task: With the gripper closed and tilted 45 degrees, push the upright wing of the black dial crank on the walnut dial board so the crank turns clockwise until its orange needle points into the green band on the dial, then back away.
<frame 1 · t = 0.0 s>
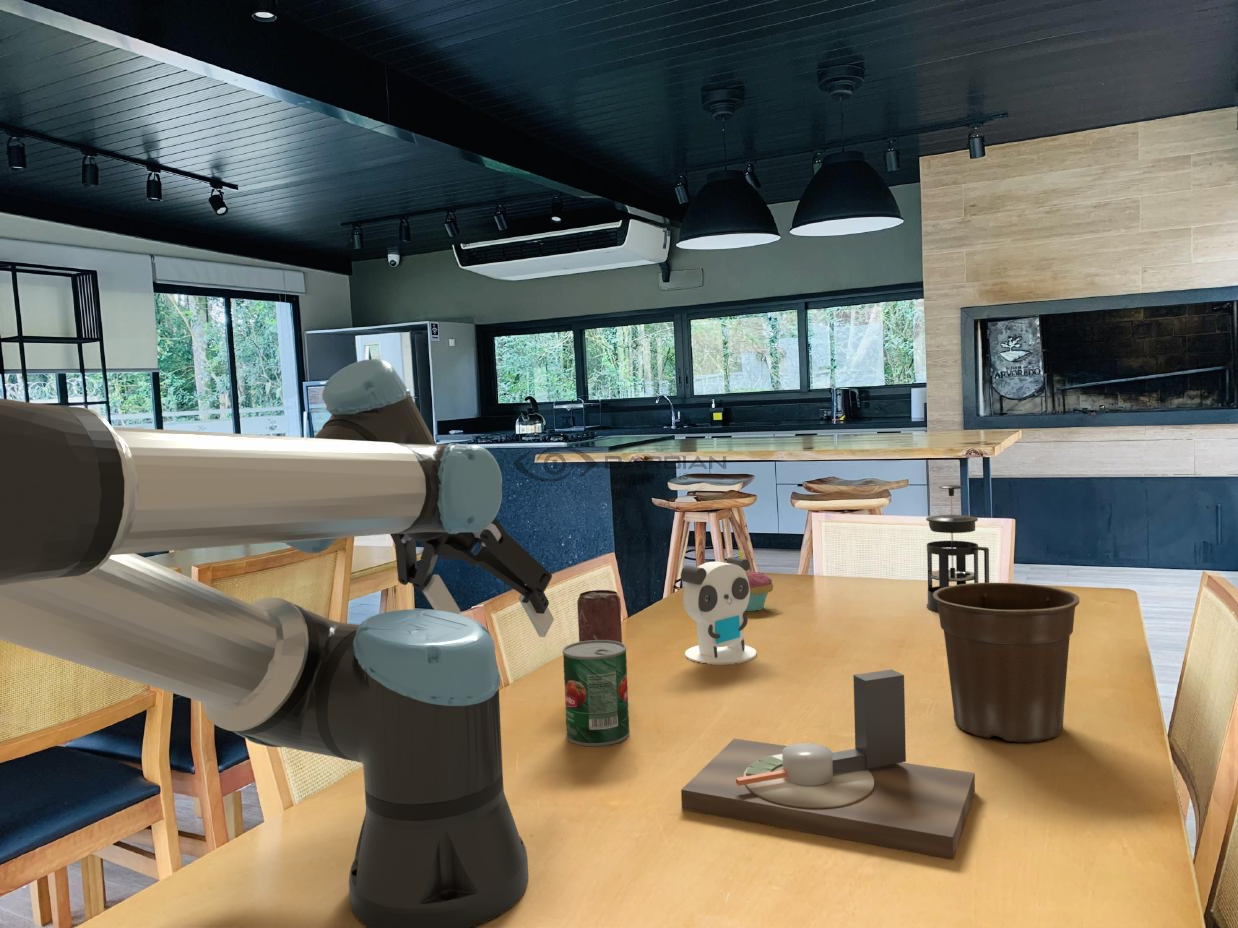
hand: (498, 623, 111), 15 cm above the table, tool tilted 35°, fingers open, 13 cm apart
dial board: (829, 800, 94), on the table
plant pot: (1005, 726, 113), on the table
cupcake: (751, 609, 179), on the table
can: (603, 690, 133), on the table
dial crank: (819, 728, 94), point 7 cm above the table, hinge at 0.0°
panda figurine: (719, 655, 148), on the table
canned tomato: (598, 736, 115), on the table
french press: (956, 609, 172), on the table
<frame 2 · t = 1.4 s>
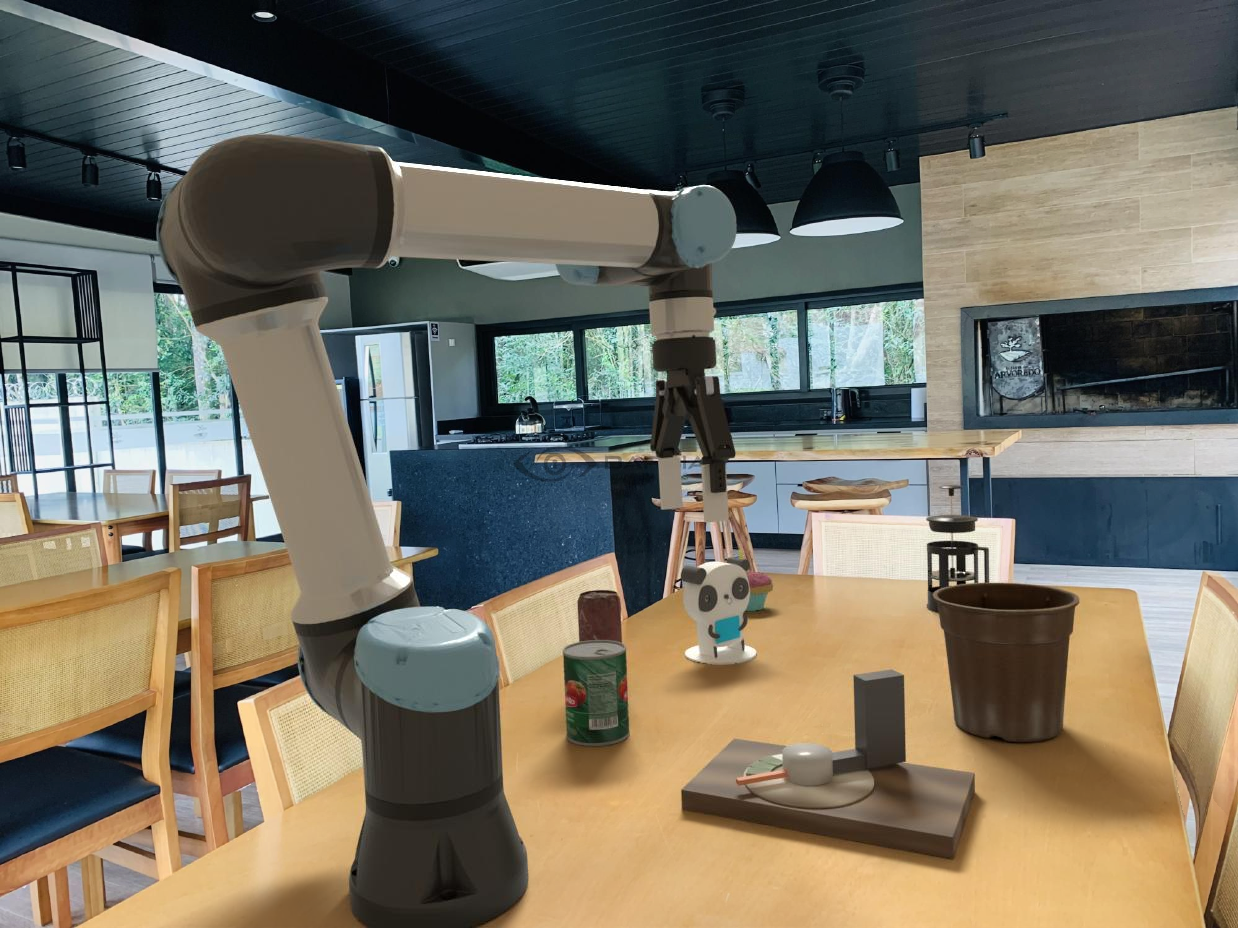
hand: (692, 514, 112), 27 cm above the table, tool pointing down, fingers open, 13 cm apart
nothing on the table moved.
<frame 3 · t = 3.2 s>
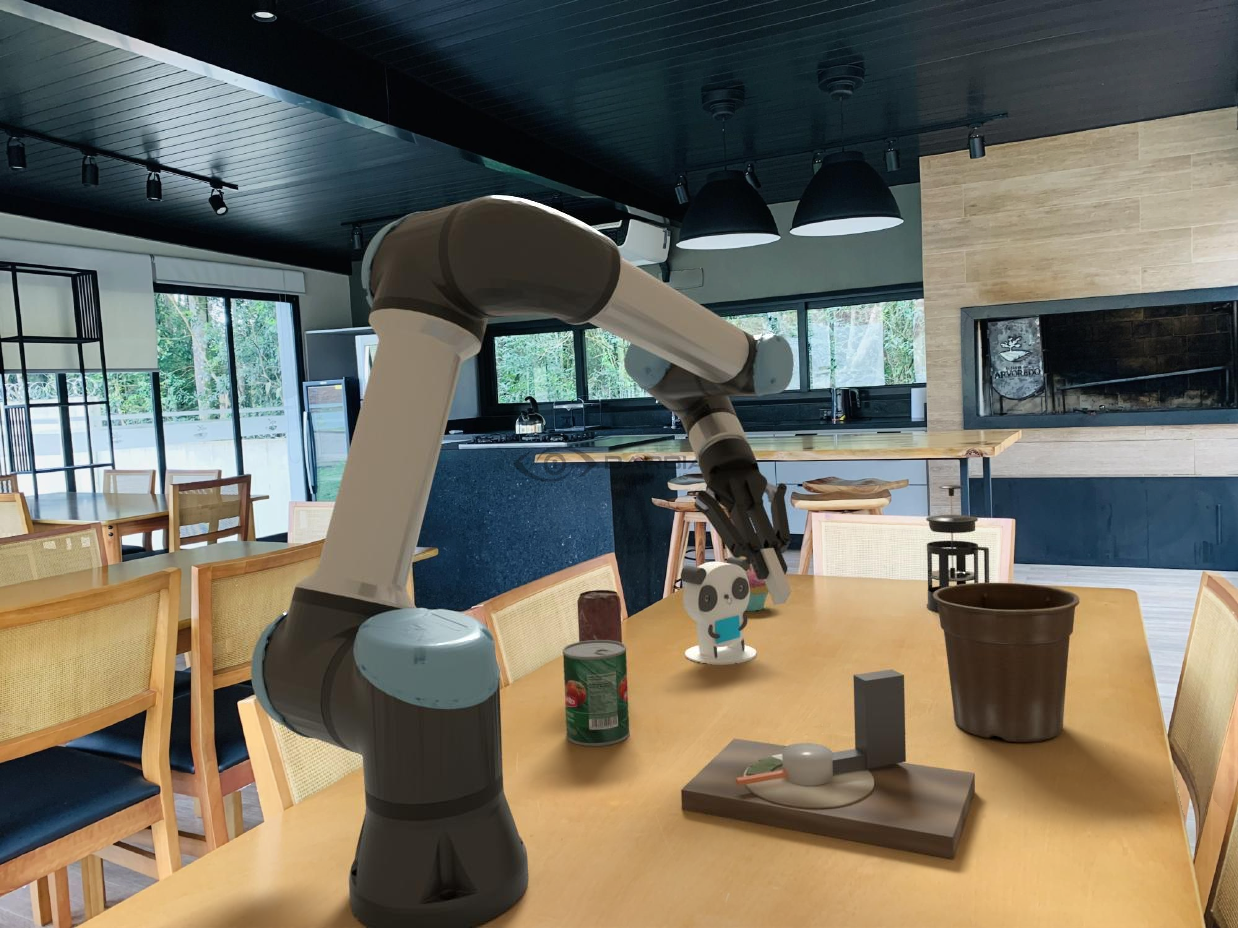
hand: (782, 597, 113), 16 cm above the table, tool tilted 45°, fingers closed
nothing on the table moved.
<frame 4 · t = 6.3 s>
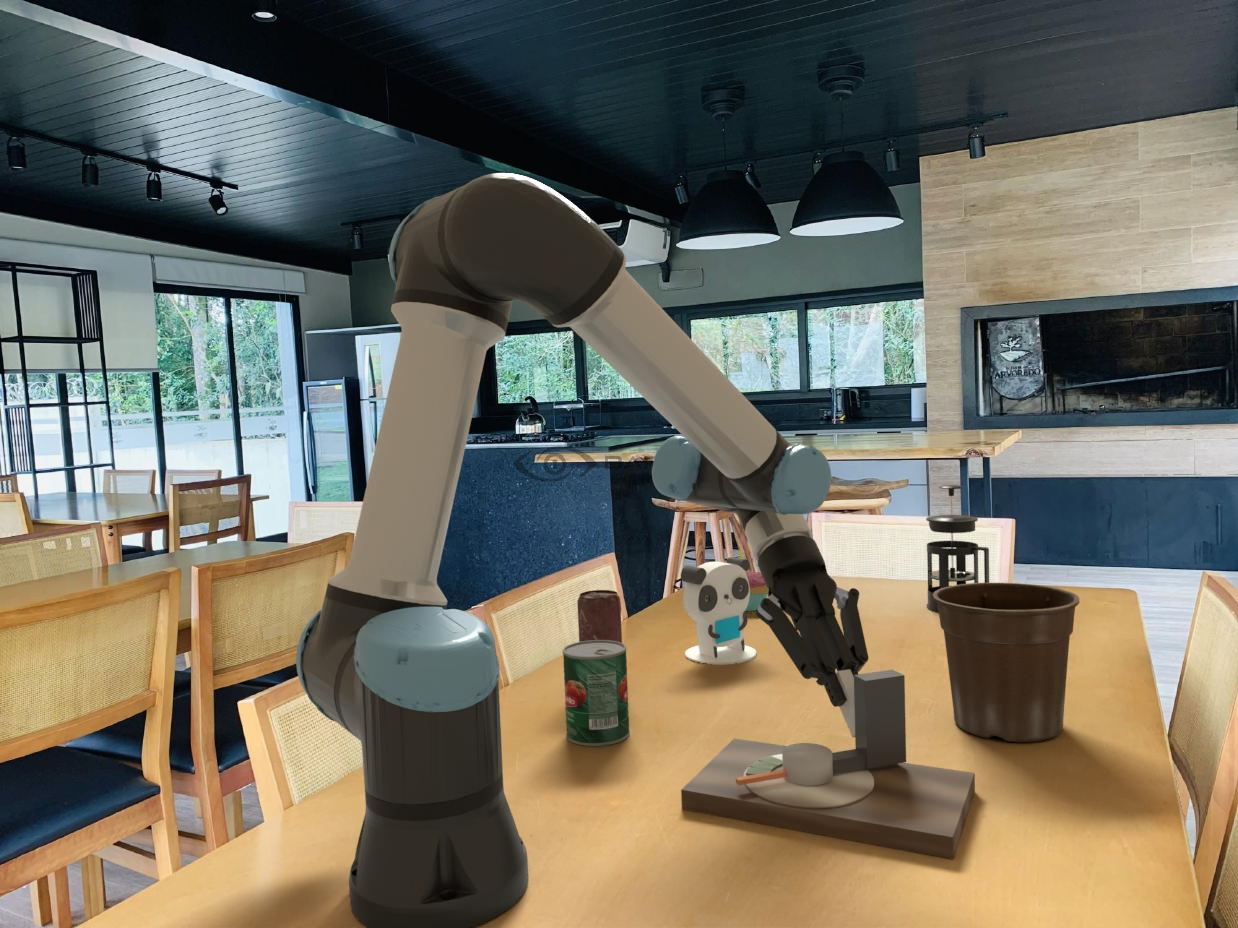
hand: (863, 730, 98), 5 cm above the table, tool tilted 45°, fingers closed
dial crank: (819, 728, 94), point 7 cm above the table, hinge at -0.5°, touching gripper
everything else where it was.
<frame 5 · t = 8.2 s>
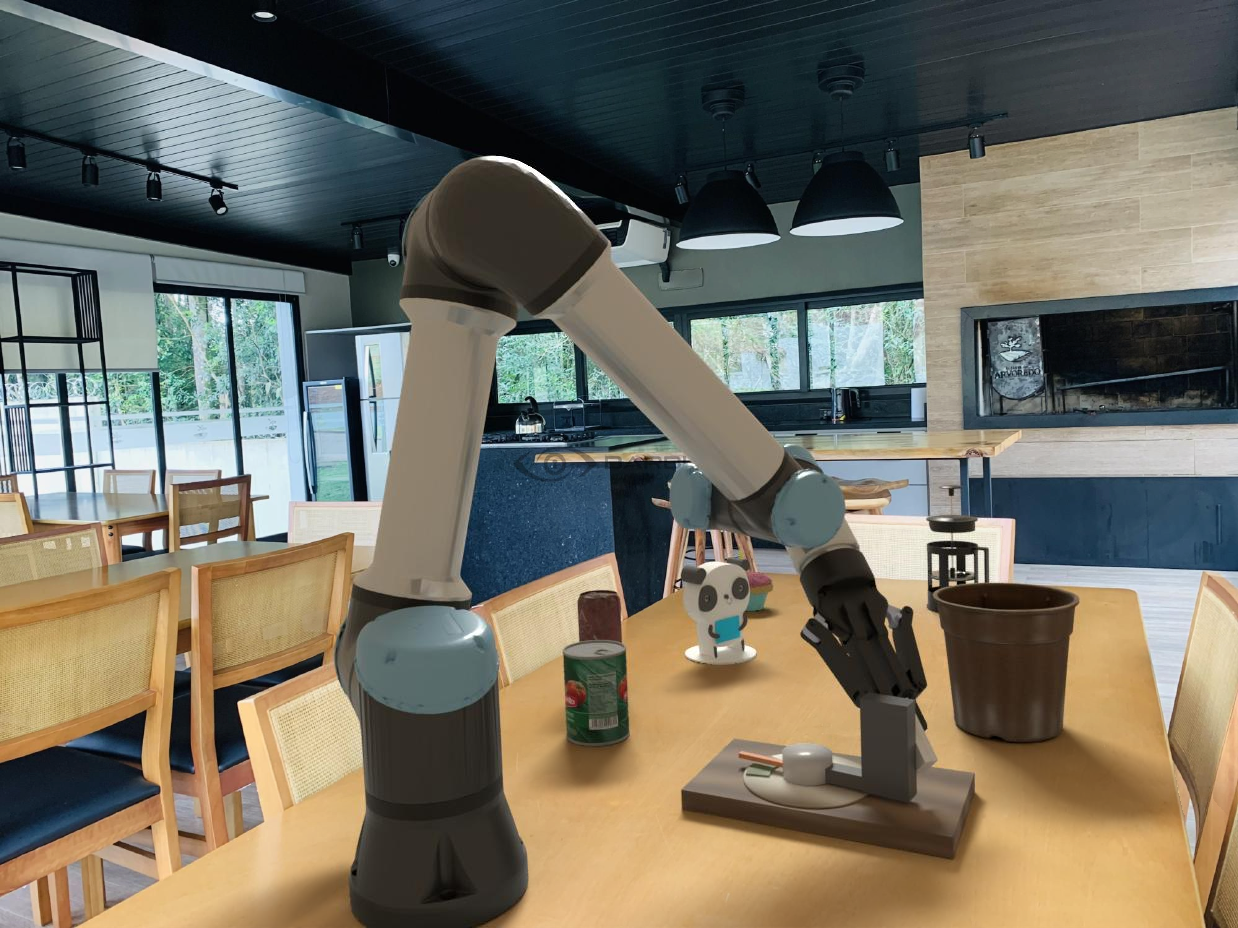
hand: (925, 766, 88), 5 cm above the table, tool tilted 45°, fingers closed
dial crank: (820, 733, 93), point 7 cm above the table, hinge at -53.9°, touching gripper
everything else where it was.
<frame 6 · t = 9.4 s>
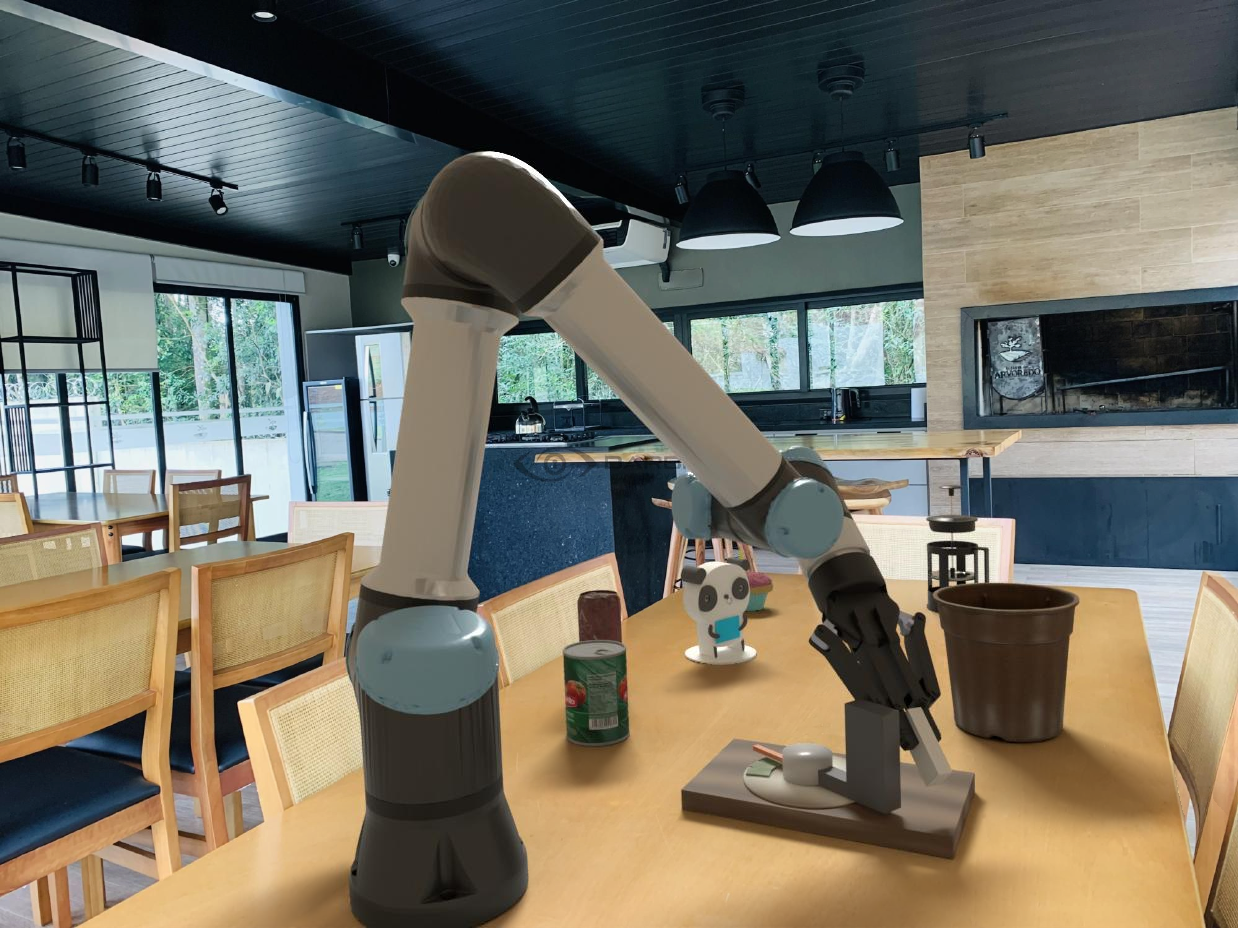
hand: (939, 779, 85), 6 cm above the table, tool tilted 45°, fingers closed
dial crank: (817, 734, 93), point 7 cm above the table, hinge at -73.1°, touching hand
everything else where it was.
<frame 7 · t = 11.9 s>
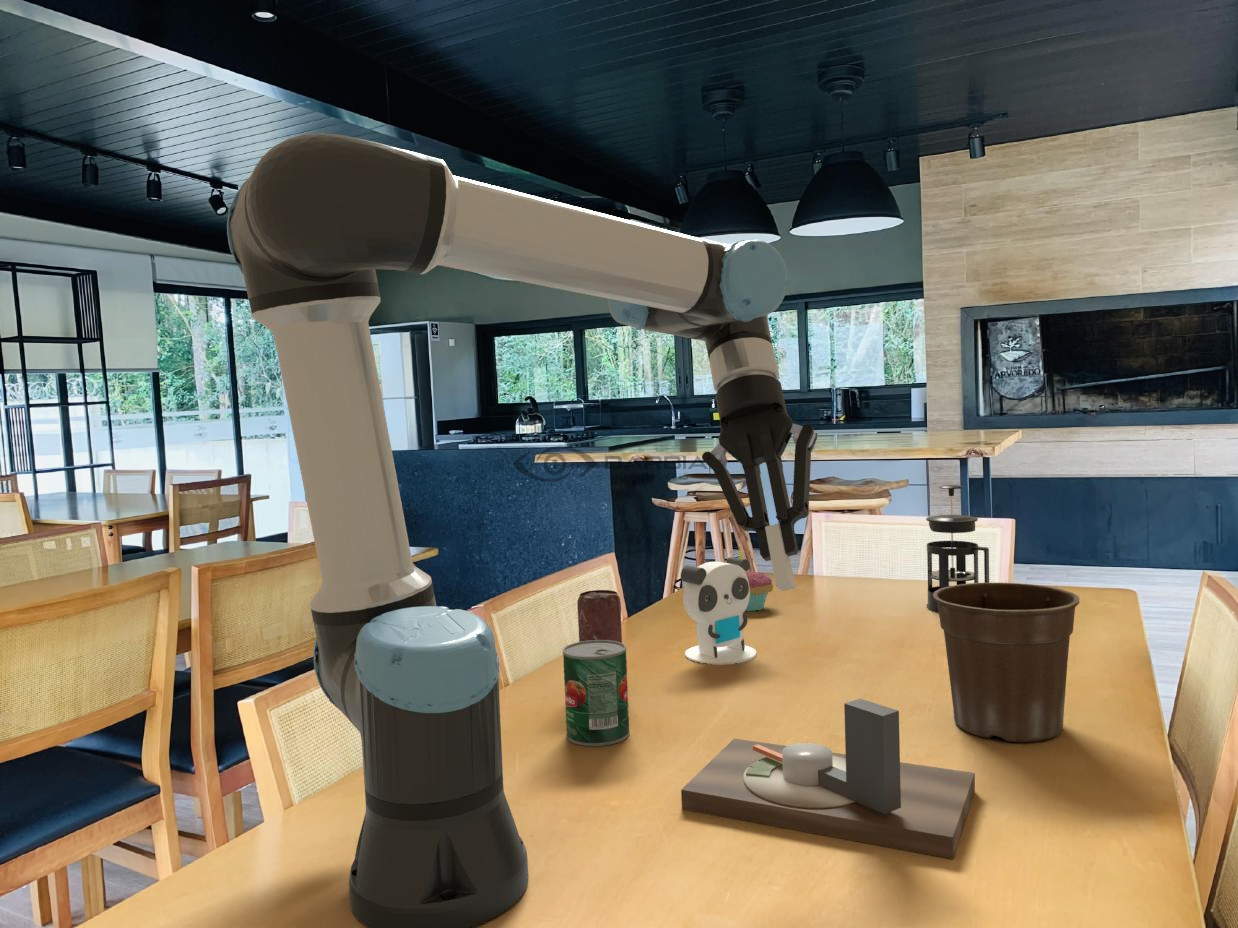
hand: (786, 586, 97), 21 cm above the table, tool tilted 25°, fingers closed
dial crank: (817, 734, 93), point 7 cm above the table, hinge at -73.3°
everything else where it was.
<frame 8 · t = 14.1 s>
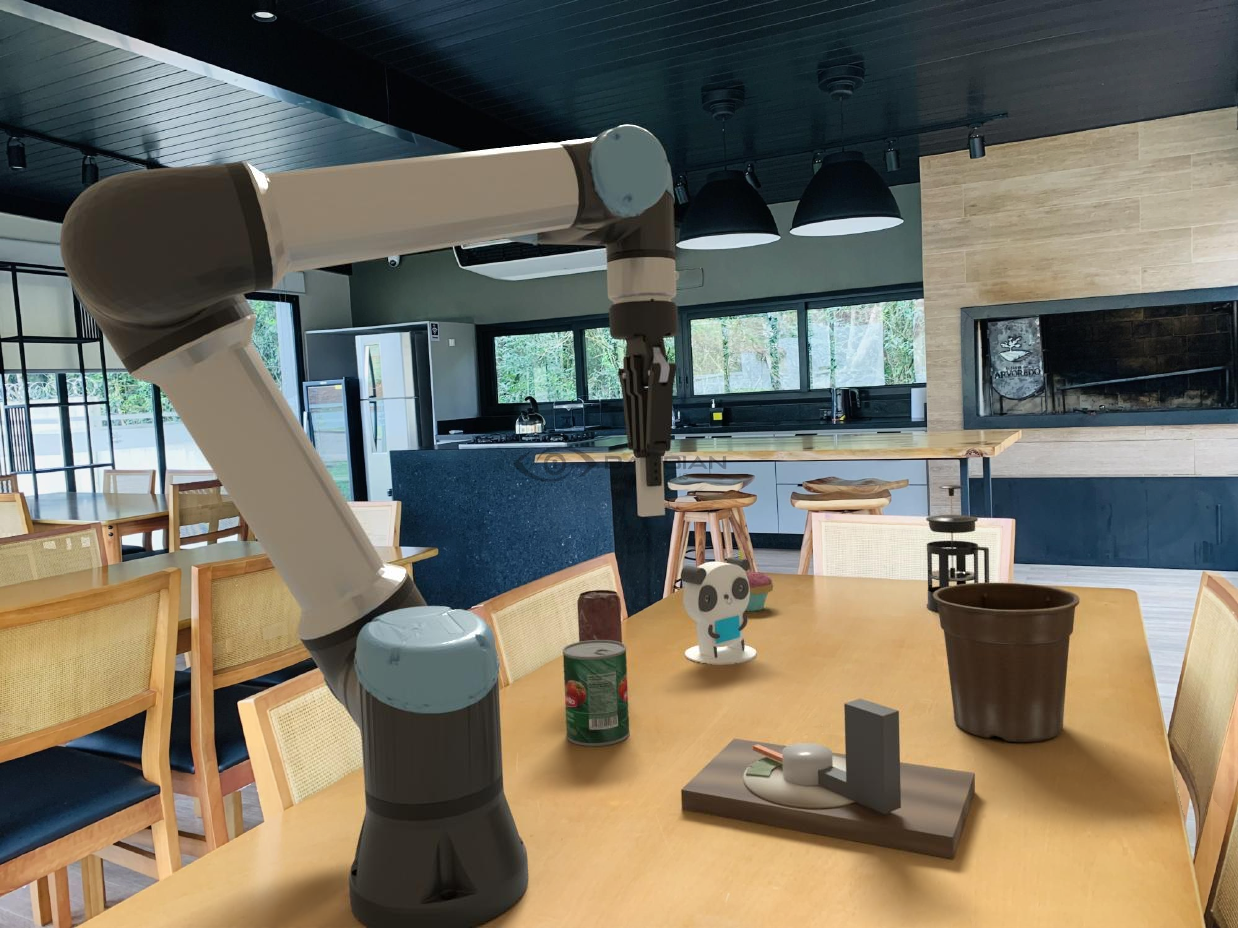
hand: (651, 514, 103), 28 cm above the table, tool pointing down, fingers closed
nothing on the table moved.
at the end: dial crank at -73° (first picture: +0°) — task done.
